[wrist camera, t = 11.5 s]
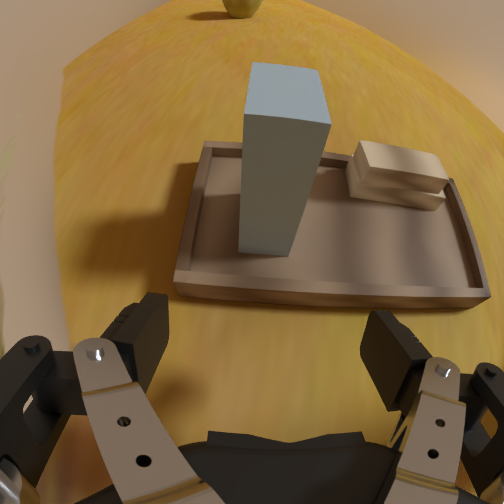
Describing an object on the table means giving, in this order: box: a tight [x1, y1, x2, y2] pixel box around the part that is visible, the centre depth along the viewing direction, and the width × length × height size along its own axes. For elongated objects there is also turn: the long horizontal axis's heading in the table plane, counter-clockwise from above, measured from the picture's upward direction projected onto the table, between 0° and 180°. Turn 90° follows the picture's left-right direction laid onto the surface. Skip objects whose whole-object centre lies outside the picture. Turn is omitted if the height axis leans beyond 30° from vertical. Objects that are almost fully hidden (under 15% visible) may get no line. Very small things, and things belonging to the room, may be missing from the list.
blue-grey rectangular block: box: [238, 62, 331, 257], centre depth 16 cm, size 3×5×11 cm, turn 176°
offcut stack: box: [345, 140, 449, 211], centre depth 22 cm, size 9×4×4 cm, turn 87°
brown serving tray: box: [173, 141, 491, 308], centre depth 22 cm, size 25×13×2 cm, turn 87°
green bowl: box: [222, 0, 262, 18], centre depth 49 cm, size 10×10×7 cm
